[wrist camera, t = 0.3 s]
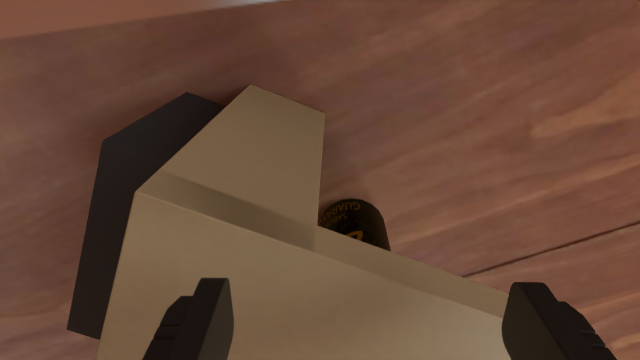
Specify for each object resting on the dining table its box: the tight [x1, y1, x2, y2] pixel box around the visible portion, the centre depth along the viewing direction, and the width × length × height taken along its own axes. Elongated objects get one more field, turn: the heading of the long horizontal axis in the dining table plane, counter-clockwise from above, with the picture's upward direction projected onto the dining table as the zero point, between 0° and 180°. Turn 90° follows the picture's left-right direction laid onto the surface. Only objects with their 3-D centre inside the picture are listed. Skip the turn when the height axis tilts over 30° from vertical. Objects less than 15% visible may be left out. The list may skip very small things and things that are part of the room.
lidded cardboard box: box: [67, 84, 511, 360], centre depth 25 cm, size 20×16×20 cm
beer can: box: [320, 198, 391, 252], centre depth 30 cm, size 5×5×12 cm
